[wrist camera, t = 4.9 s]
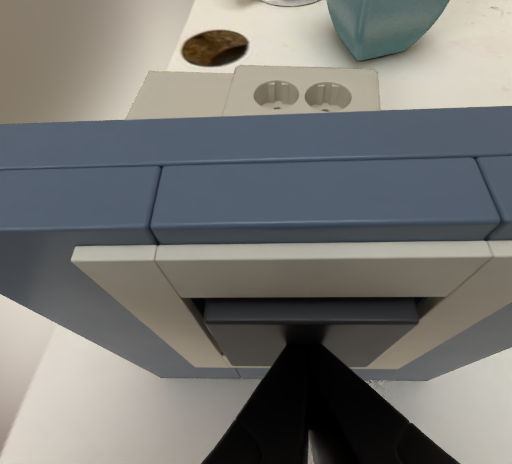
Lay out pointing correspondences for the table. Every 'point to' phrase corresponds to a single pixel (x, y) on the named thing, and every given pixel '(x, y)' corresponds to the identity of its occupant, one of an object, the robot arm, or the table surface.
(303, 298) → the switch button
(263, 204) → the wall panel
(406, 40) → the flower pot
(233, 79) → the electrical outlet
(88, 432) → the table surface
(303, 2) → the mug
